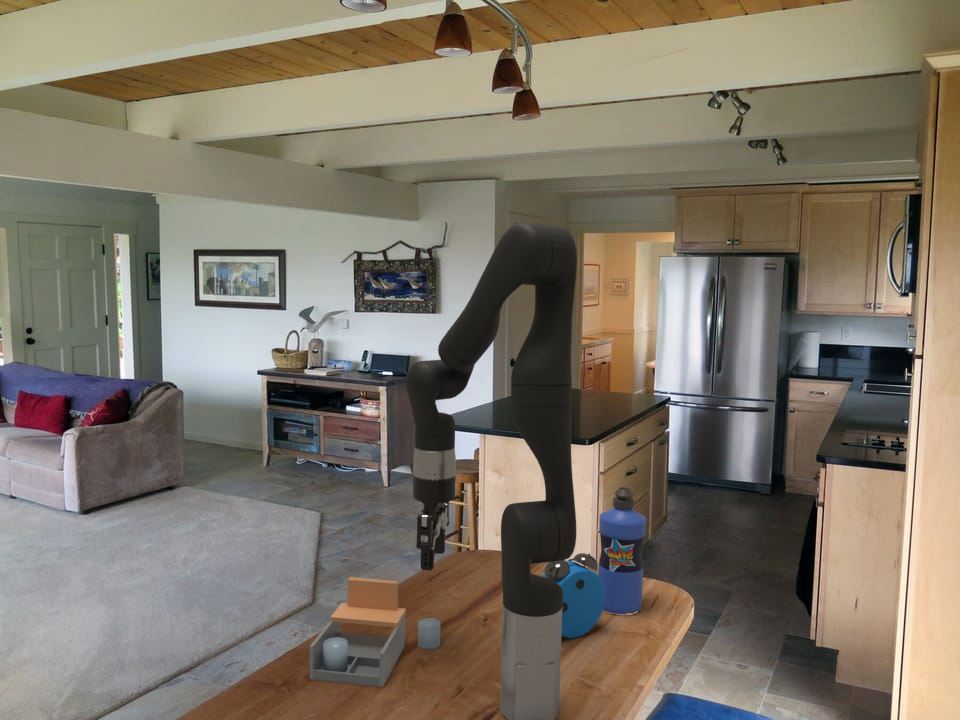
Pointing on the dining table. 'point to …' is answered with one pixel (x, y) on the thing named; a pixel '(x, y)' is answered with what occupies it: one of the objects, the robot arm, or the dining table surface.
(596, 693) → the dining table surface
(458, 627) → the dining table surface
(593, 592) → the alarm clock
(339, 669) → the grey rounded cylinder
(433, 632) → the blue-grey rounded cylinder
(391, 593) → the lid
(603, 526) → the water bottle
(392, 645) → the housing
